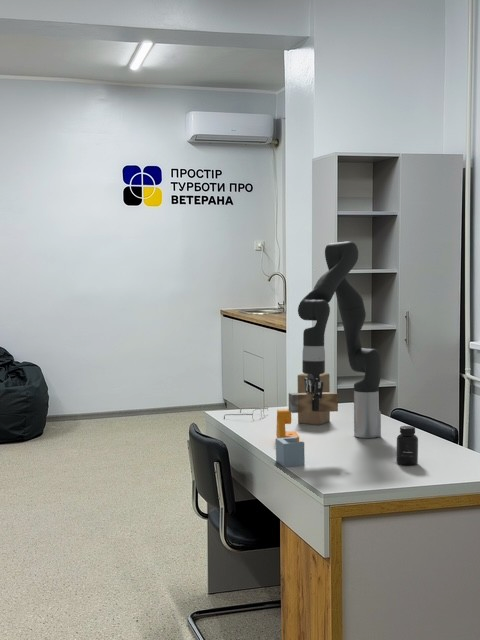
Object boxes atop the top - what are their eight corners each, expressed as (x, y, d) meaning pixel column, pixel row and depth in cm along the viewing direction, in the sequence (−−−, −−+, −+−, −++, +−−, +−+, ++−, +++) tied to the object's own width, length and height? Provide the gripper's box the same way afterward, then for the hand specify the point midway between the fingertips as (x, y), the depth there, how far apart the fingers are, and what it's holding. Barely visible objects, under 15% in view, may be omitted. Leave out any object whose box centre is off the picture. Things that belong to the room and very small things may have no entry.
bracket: (299, 444, 295) (299, 411, 295) (279, 445, 295) (279, 412, 294) (295, 438, 306) (295, 406, 305) (276, 438, 306) (276, 407, 305)
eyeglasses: (255, 422, 341) (255, 410, 341) (223, 419, 348) (223, 408, 347) (270, 415, 355) (270, 404, 355) (240, 413, 362) (239, 402, 362)
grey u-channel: (296, 459, 272) (295, 437, 272) (304, 465, 264) (304, 442, 263) (276, 460, 271) (275, 438, 270) (283, 466, 262) (283, 443, 262)
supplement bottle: (405, 467, 259) (405, 430, 259) (392, 462, 266) (392, 426, 265) (422, 464, 263) (422, 427, 262) (408, 460, 269) (408, 424, 268)
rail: (333, 409, 278) (333, 391, 277) (338, 411, 273) (338, 393, 273) (288, 410, 274) (288, 393, 274) (292, 412, 270) (292, 394, 270)
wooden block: (330, 421, 338) (329, 373, 337) (319, 425, 330) (318, 376, 328) (308, 419, 343) (308, 372, 342) (297, 423, 335) (297, 374, 334)
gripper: (331, 360, 267) (330, 412, 268) (317, 357, 281) (317, 406, 281) (309, 361, 265) (309, 413, 266) (296, 357, 279) (296, 407, 280)
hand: (313, 409), depth 274 cm, fingers closed on rail, 4 cm apart
